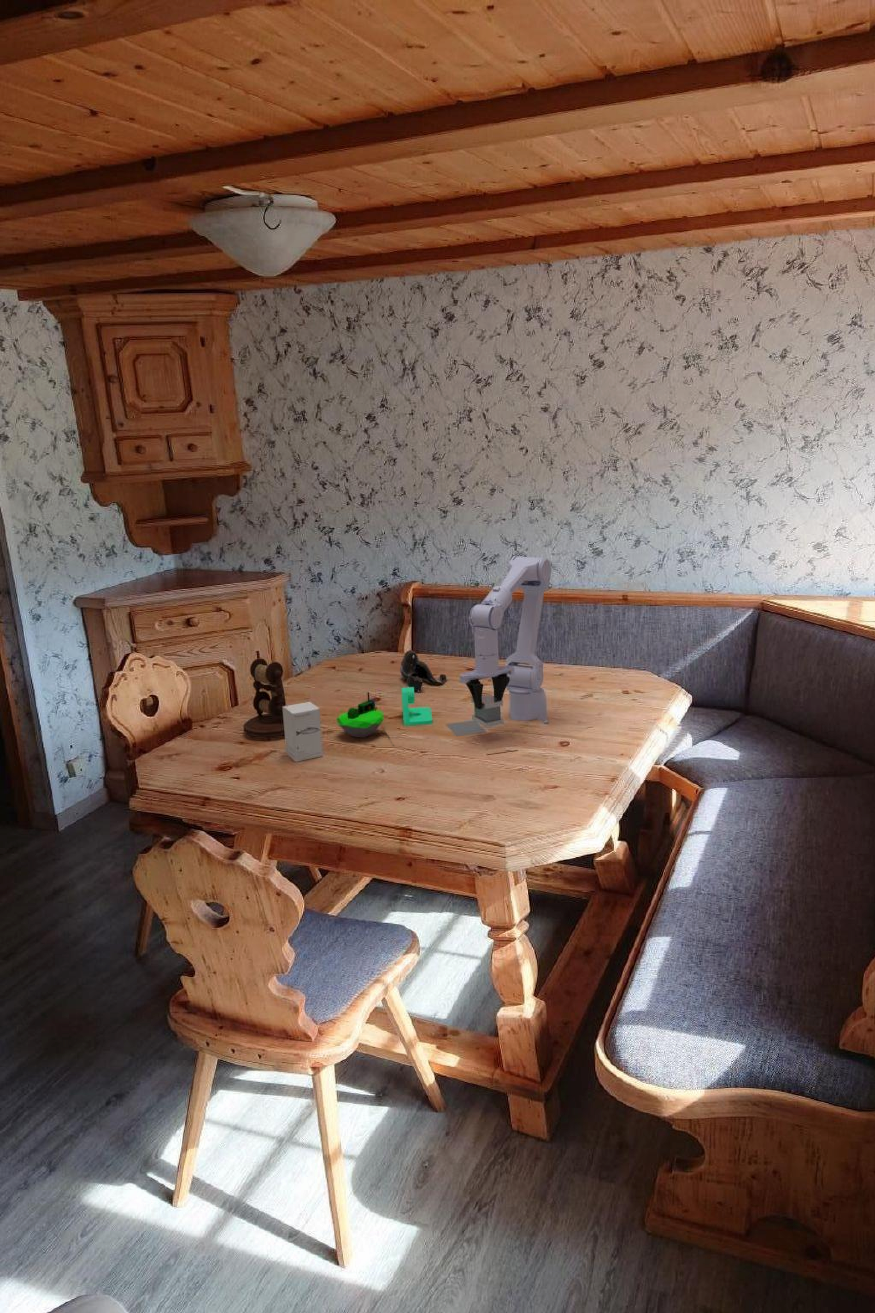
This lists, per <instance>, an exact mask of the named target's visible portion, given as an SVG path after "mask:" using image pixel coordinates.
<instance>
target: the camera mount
mask: <svg viewBox="0 0 875 1313" xmlns="http://www.w3.org/2000/svg"><path fill="white" fill-rule="evenodd" d="M415 697H416V696H415V691H414V687H408V686H407V687H401V704H402V705H401V706H402V718H403V720H402V721H403V726H404V727H407V726H422V725H423V726H424V725H433V715H432V710H431V709H432V708H431V707H430V706H421V707H420V706H419V707H410V706H409V705H410V704H415V703H416V701H415V700H416V699H415Z"/></svg>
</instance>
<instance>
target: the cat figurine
mask: <svg viewBox="0 0 875 1313" xmlns="http://www.w3.org/2000/svg"><path fill="white" fill-rule="evenodd" d="M399 667H400V668H399V672H400V675H401V677H402V679H403V681H405V682H406V686H407V687H414V692H415V691H417V694H421V692H422V691H421V690H422V686H423V684H424V681H426V682H427V683H428V684H432V685H437V686H443V685H444V684H445V683H446V681H447V675H446V674H443V673H442V674H439V680H440V681H438V680H437V679H436V678H435V677H434V675H433V673H432V671H431V669H430V668H429V665H428V664H426V662H423V661H422V660H420V659H419V656H418V654H417V653H416V652H415V651H413V650H411V649H409V650H408V651H406V652H404V656H403V658H402V659H401V662H400V666H399Z"/></svg>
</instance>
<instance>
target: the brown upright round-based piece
mask: <svg viewBox="0 0 875 1313" xmlns="http://www.w3.org/2000/svg"><path fill="white" fill-rule="evenodd" d="M249 670H250V671H249V672H250V675H251V677H252V678H253V680H254V681H253V683H252V687H253V688H254V690H255V695H254V696H253V697H254V698H253V699H252V705H253V709H254V710H255V711H256V714H257V715H256V716H253V717H251V718H249V719H248V721H246V722H245V723H244V724H243V727H242V728H243V732H244V733H245V734H247V735H250V736H254V737H255V736H256V737H266V738H265V739H266V740H267V741H268V742H270V740H271V737H272V736H273V737H274V736H280V735H285V731H284V720H283V708H282V707H283V706H287V703H286V694H285V690H284V689H285V688H284V684H283V680H282V677H283V675H284V668H283V665H282V664H281V663H280V662H278V661H272V662H271V663H269V664H268V662H267V661H266V660H265V658H261V657H259V658H256V659H254V660H253V661H252V663H251V664H250V667H249ZM260 690H265V691H260ZM268 692H270V694H269V693H268ZM264 713H265V714H264Z"/></svg>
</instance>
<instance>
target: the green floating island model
mask: <svg viewBox="0 0 875 1313" xmlns="http://www.w3.org/2000/svg"><path fill="white" fill-rule="evenodd" d="M366 693H367V700H365V701H363V702H361V703H358V704H357V708H356V707H350V708H348V710H347V712H344V713H341V714H340V715H339V716H338V717H337V718H336V721H337V723H338V725H339V727H340V728H341V729H342V730H344V732H345V733H346V734H347V735H348V736H351V737H355V738H359V739H363V738H365V737H366V738H367V737H368V736H371V735H373V734H374V733H375V732H376V731H377V729H378V728H379V727H380V726H381V724H382V723H383V721H384V713H383V712H382V711H380V710H379V709H378V707H377V706H376V702H375V700H374V699H370V692H369V691H368V692H366ZM377 709H378V710H377Z"/></svg>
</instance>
